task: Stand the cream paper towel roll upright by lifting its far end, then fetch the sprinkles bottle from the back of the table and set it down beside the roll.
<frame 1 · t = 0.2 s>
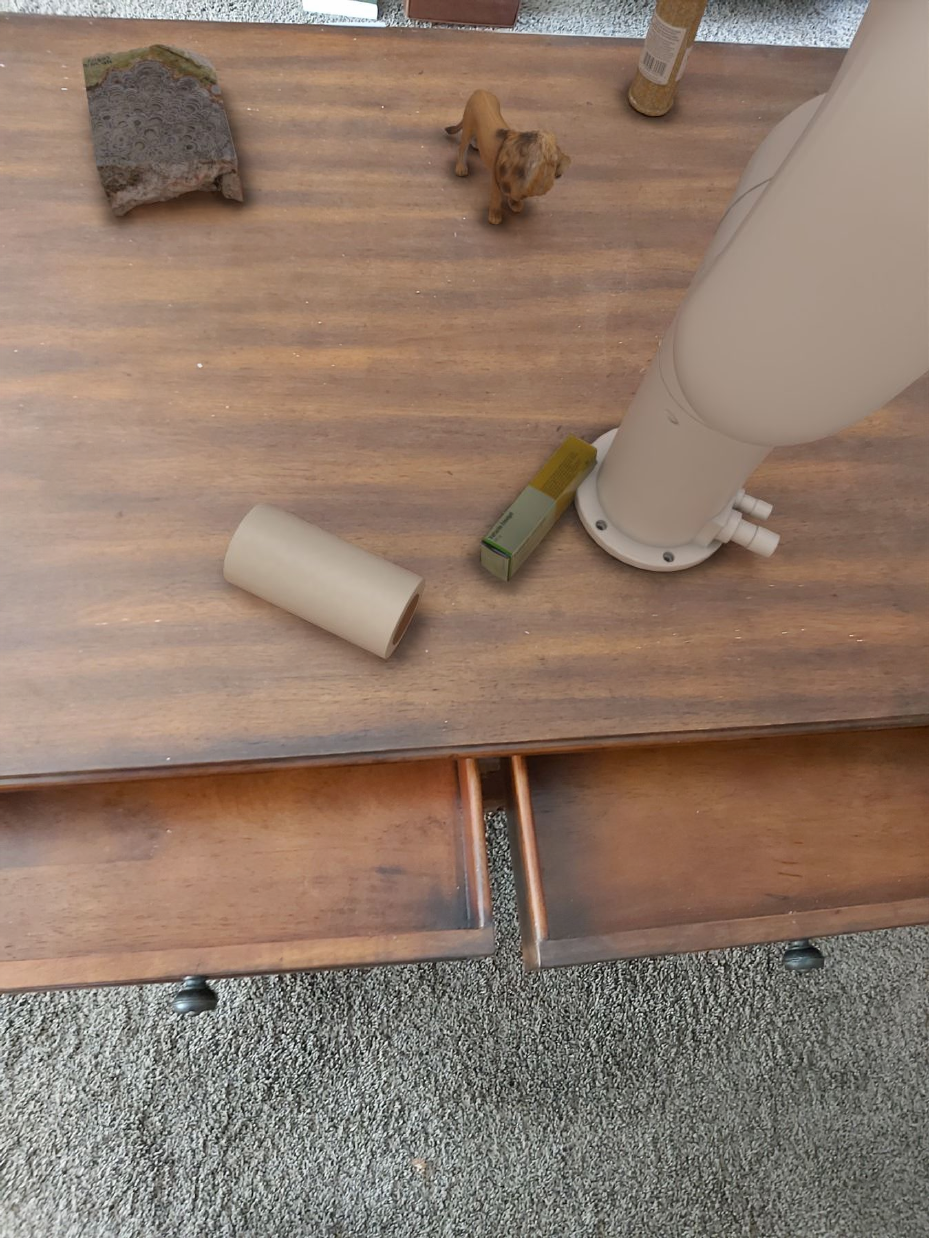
sprinkles bottle: (648, 103, 82), on the table
medication box: (539, 528, 64), on the table, touching arm
paper towel roll: (325, 580, 56), point 3 cm above the table, hinge at 90.0°
lion figurine: (495, 192, 75), on the table
geological specimen: (169, 158, 72), on the table
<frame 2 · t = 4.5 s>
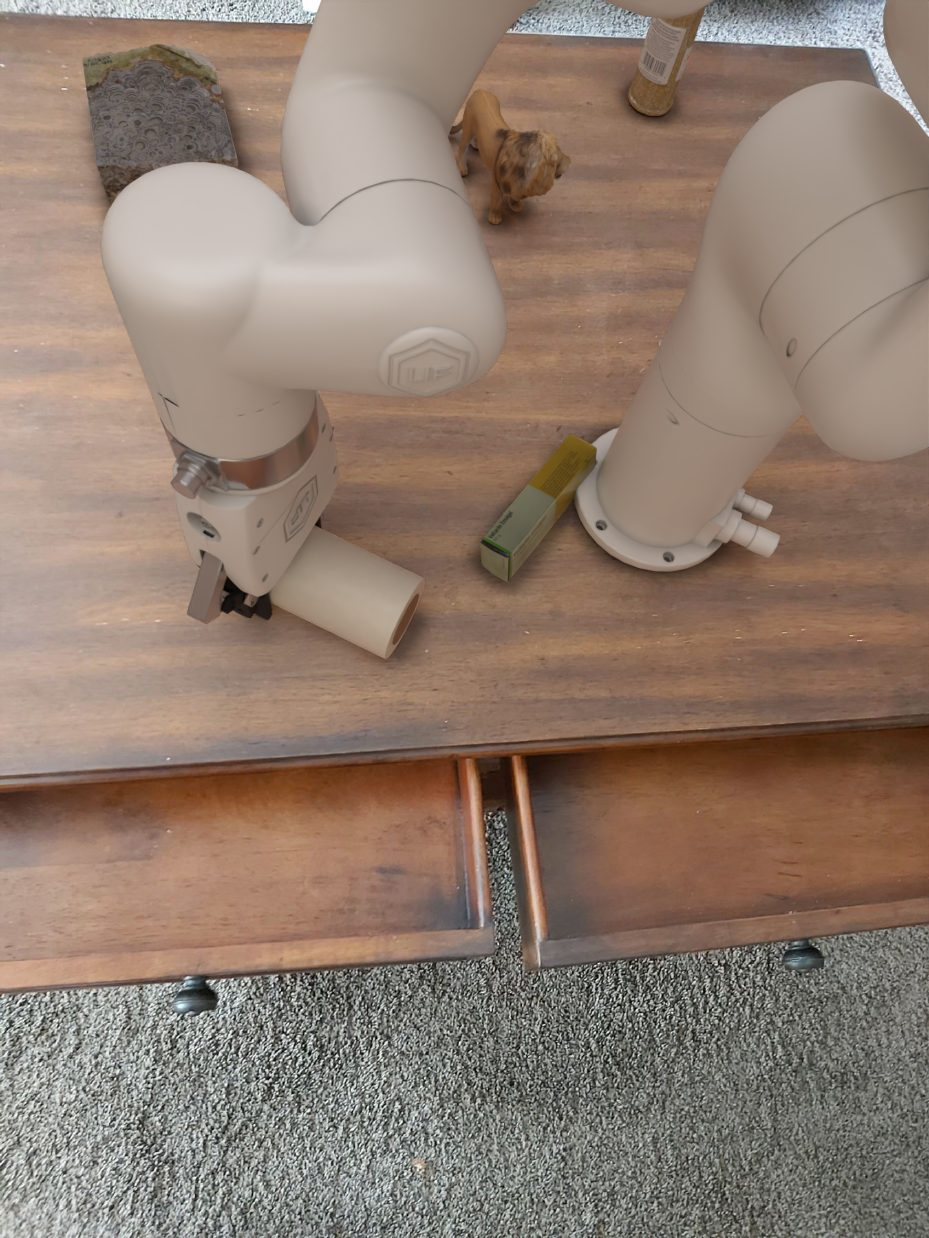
hand: (276, 567, 58), 1 cm above the table, tool pointing down, fingers closed on paper towel roll, 6 cm apart
paper towel roll: (325, 580, 56), point 3 cm above the table, hinge at 90.0°, touching gripper
everything else where it was.
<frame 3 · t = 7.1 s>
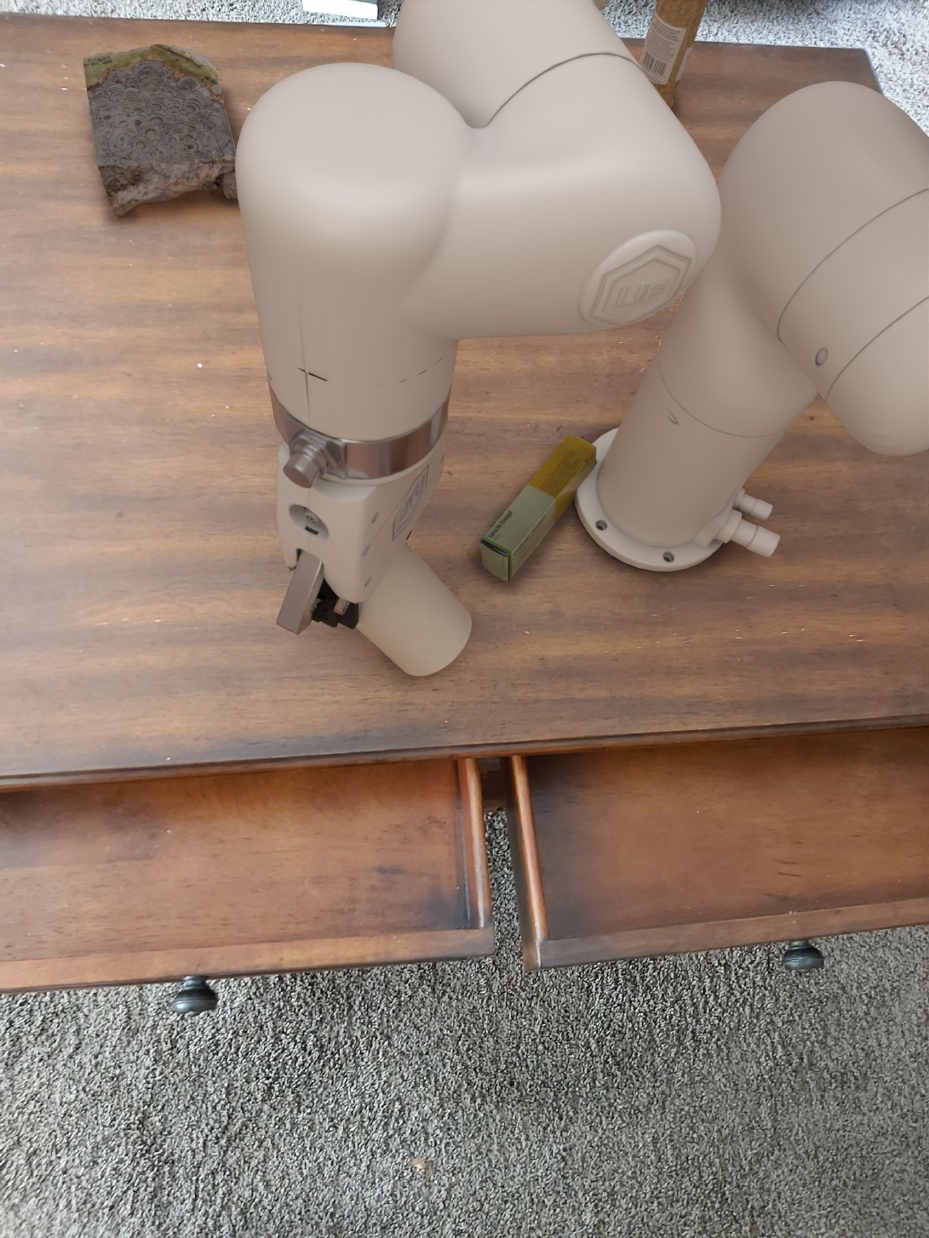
hand: (360, 569, 52), 7 cm above the table, tool pointing down, fingers closed on paper towel roll, 6 cm apart
paper towel roll: (382, 586, 52), point 6 cm above the table, hinge at 42.3°, touching gripper
everything else where it was.
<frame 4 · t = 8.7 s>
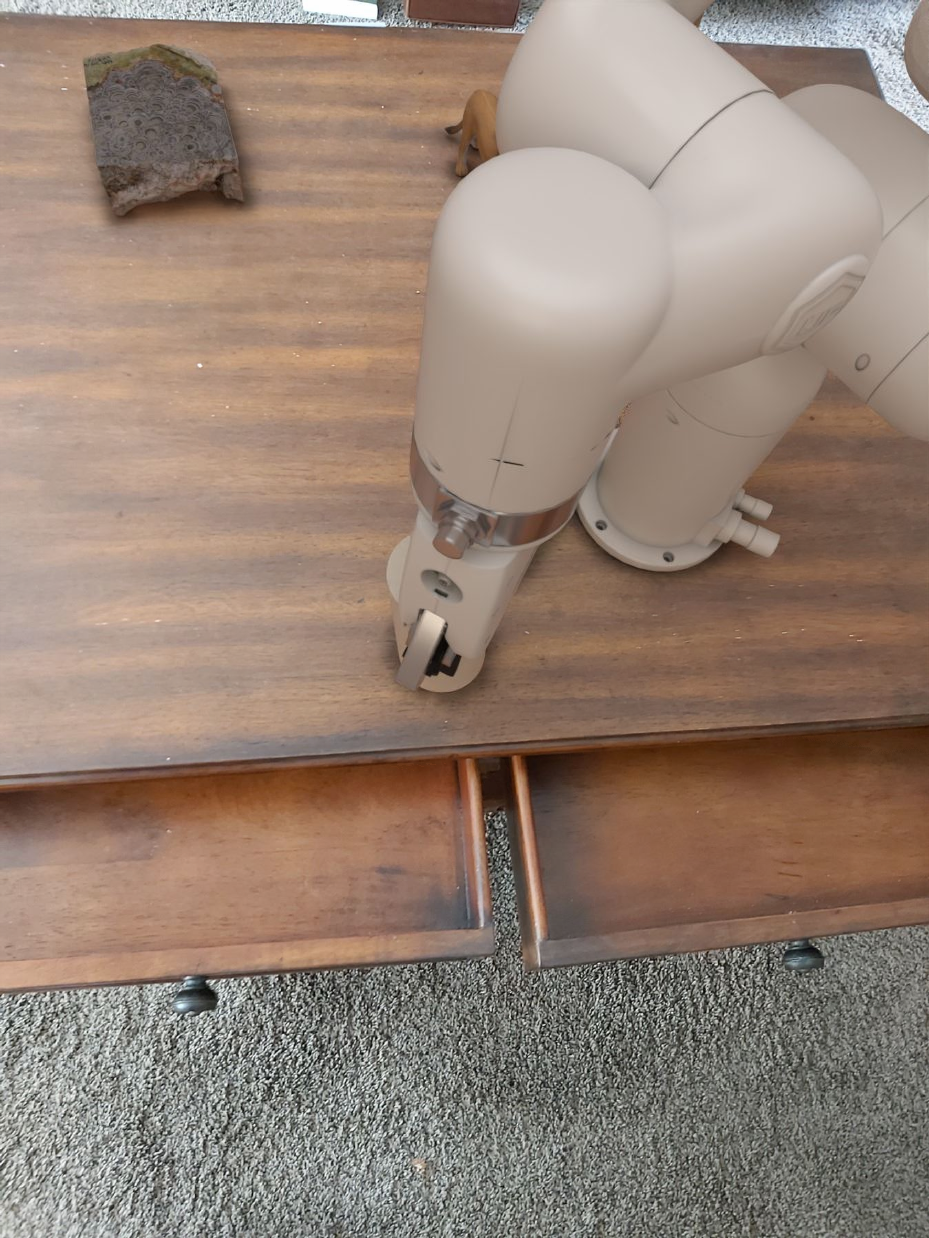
hand: (456, 615, 51), 8 cm above the table, tool pointing down, fingers closed on paper towel roll, 6 cm apart
paper towel roll: (440, 615, 52), point 6 cm above the table, hinge at 6.4°, touching gripper
everything else where it was.
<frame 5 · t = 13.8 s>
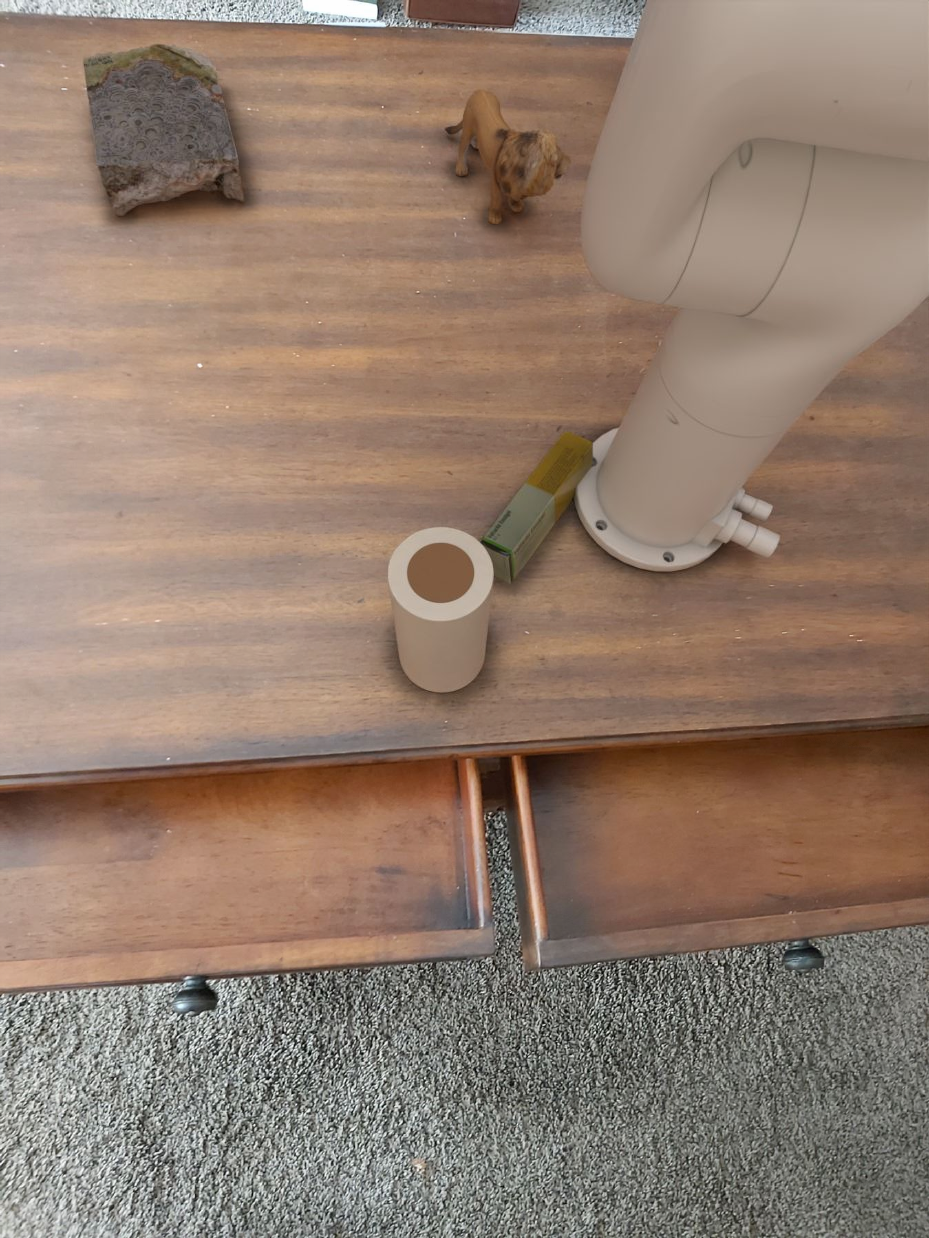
paper towel roll: (441, 616, 52), point 6 cm above the table, hinge at 6.0°
everything else where it was.
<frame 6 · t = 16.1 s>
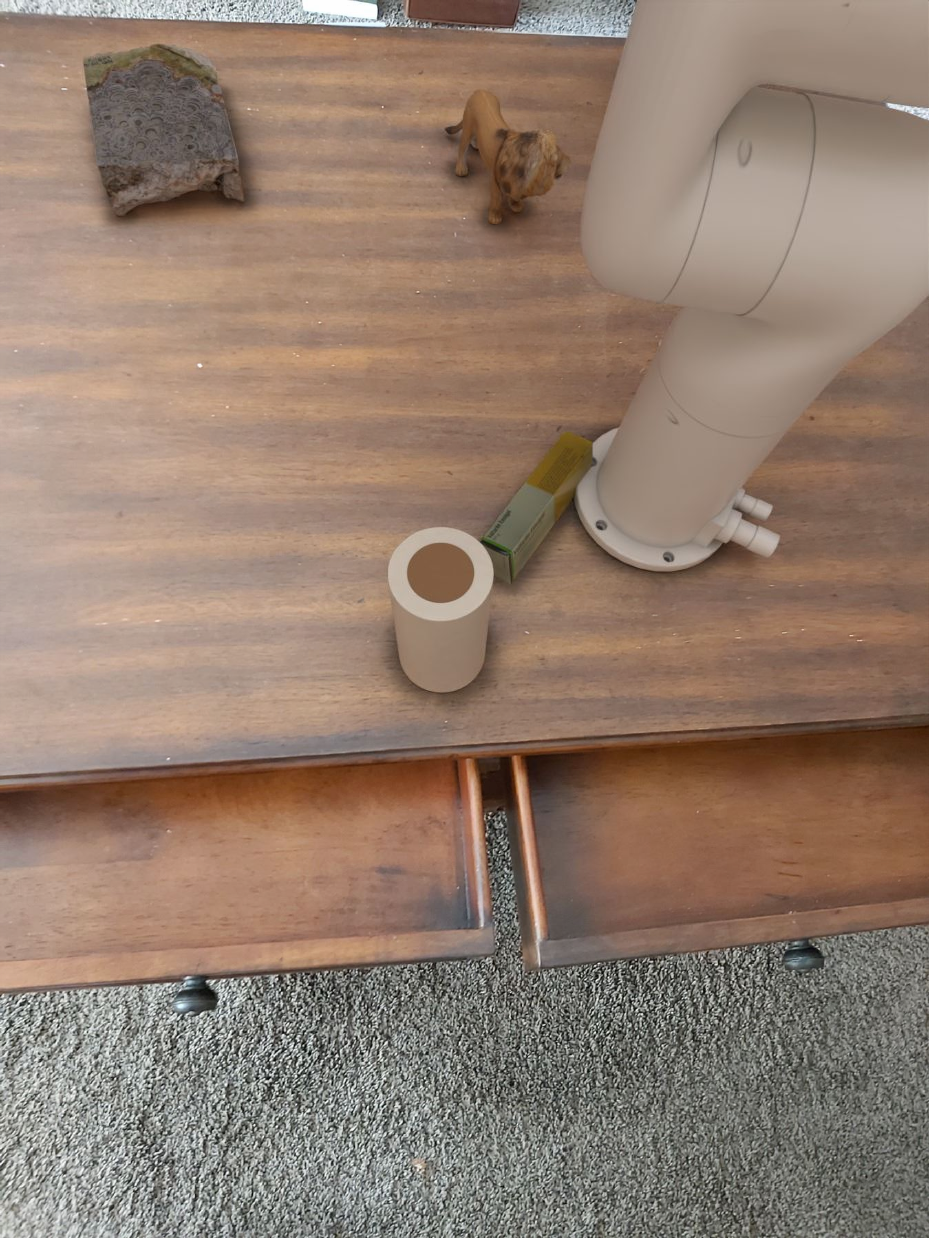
hand: (680, 8, 73), 9 cm above the table, tool pointing down, fingers closed on sprinkles bottle, 4 cm apart
sprinkles bottle: (648, 103, 82), on the table, touching gripper
everything else where it was.
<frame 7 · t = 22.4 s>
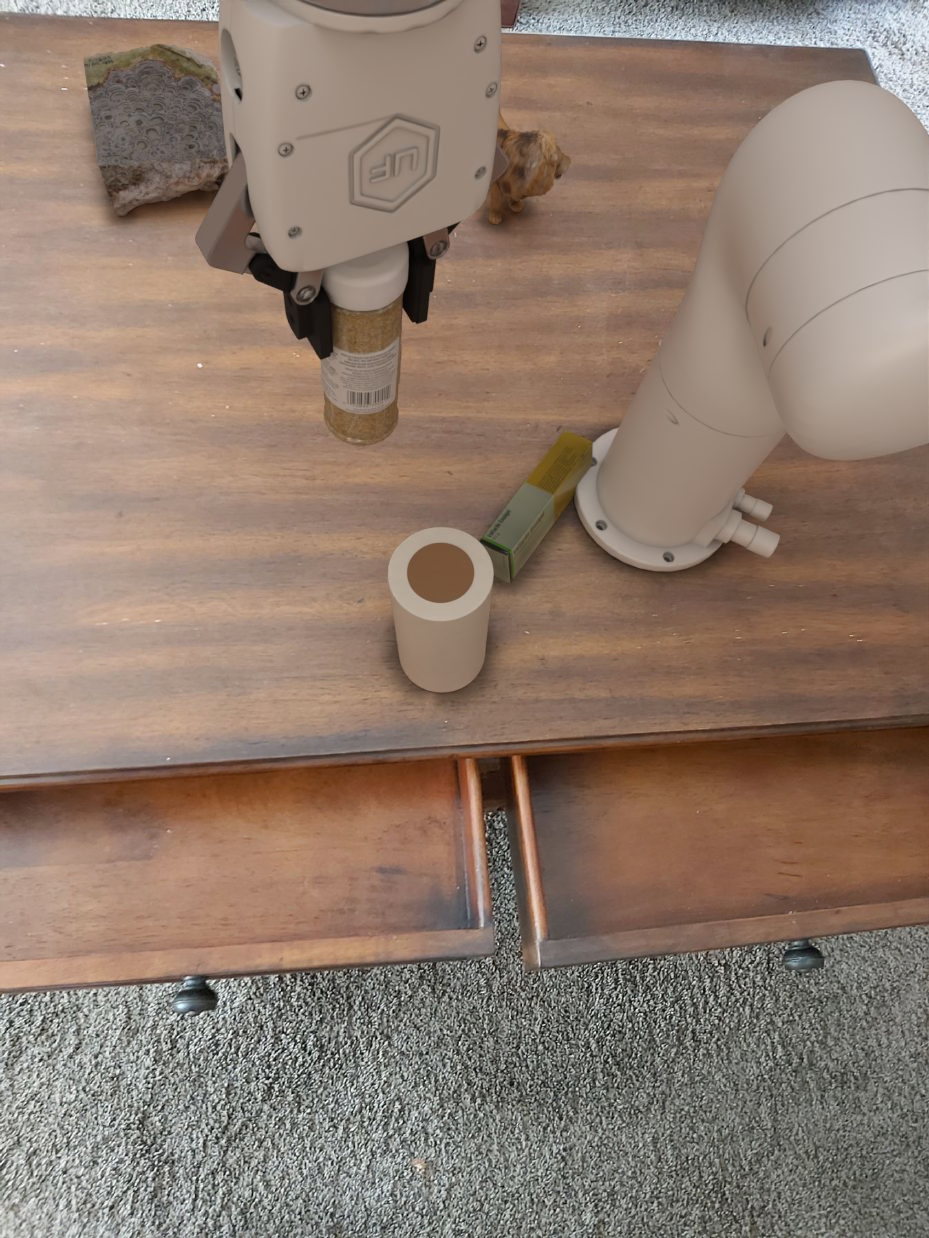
hand: (360, 317, 42), 21 cm above the table, tool pointing down, fingers closed on sprinkles bottle, 4 cm apart
sprinkles bottle: (360, 419, 50), point 12 cm above the table, touching gripper
everything else where it was.
when the fingers open (9 cm above the table, at t = 25.5 s): sprinkles bottle stays where it is, on the table.
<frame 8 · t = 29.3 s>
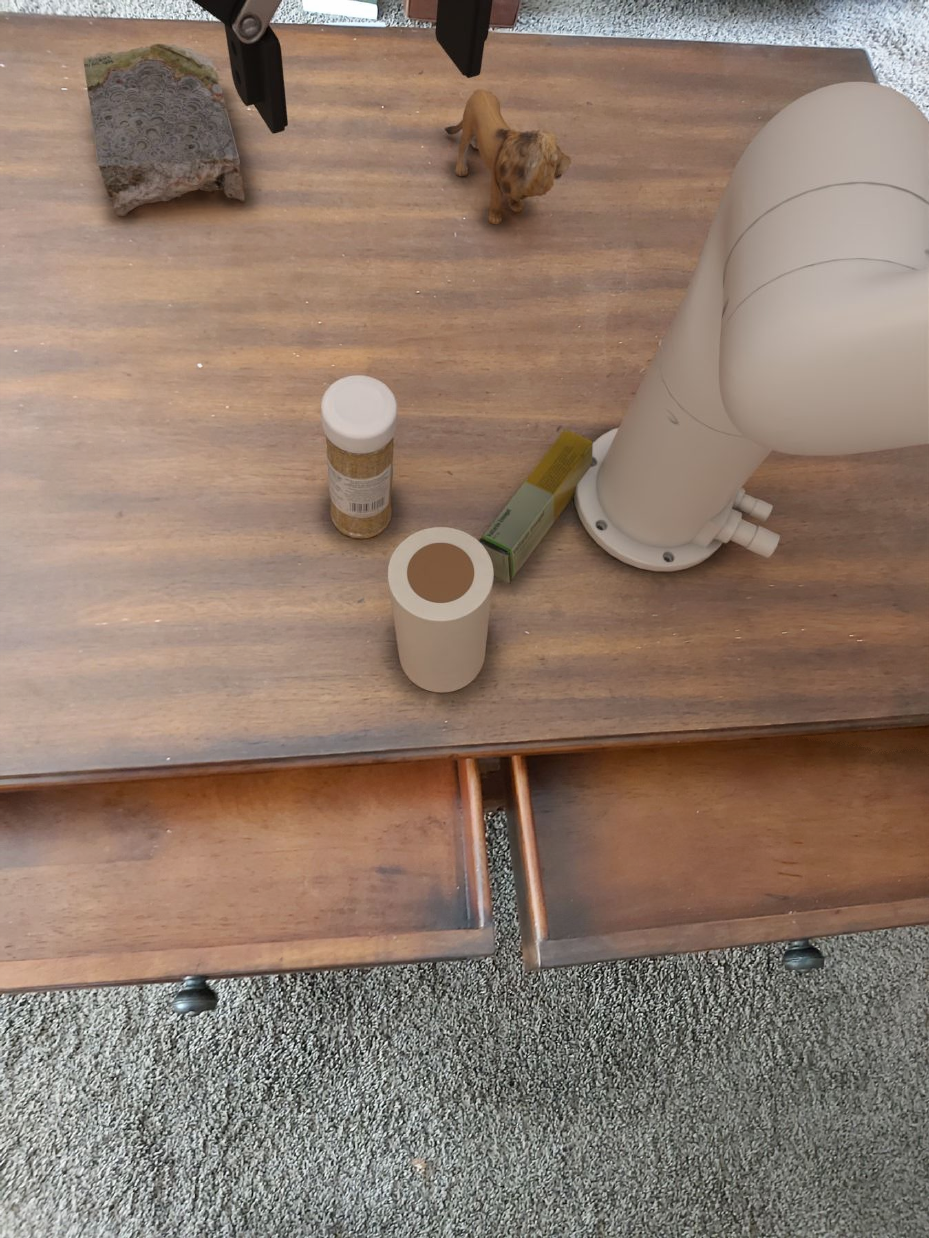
hand: (364, 84, 38), 28 cm above the table, tool pointing down, fingers open, 9 cm apart
sprinkles bottle: (360, 515, 62), on the table
everything else where it was.
at the end: paper towel roll at +6° (first picture: +90°); sprinkles bottle 12.3 cm from the paper towel roll (horizontally); sprinkles bottle tilted 0° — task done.
